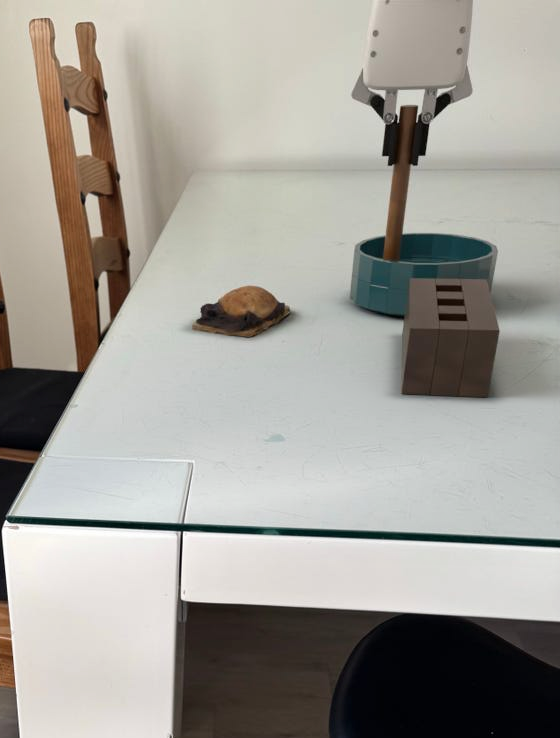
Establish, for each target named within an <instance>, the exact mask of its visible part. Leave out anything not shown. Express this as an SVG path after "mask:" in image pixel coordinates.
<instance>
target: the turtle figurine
mask: <svg viewBox="0 0 560 738" xmlns="http://www.w3.org/2000/svg"><path fill="white" fill-rule="evenodd" d="M199 309H200V312H199V313H200V314H201V315H200V317H199V318H197V319H196V321H194V322H193V323H192V324H191V325H192V326H191V328H192V329H194V330H196V331H204V332H208V333H211V334H214V333H215V334H216V333H220V334H223V335H227V336H230V335H232V336H238V337H246V338H250V337H253V336H255V335H258V334H260V333H261V332H263V330H268V328H269V327H270V326H272V325H276V324H277V323H279V322H280V321H281V320H282V319H284V318H285V317H286V316H287V315H289V314H291V307H290V306H289V305H286V303H285V302H280V301H279V300H278V299H277V298H276V297H275V295H273V294H272V292H269V291H268V290H267V289H266V288H264V287H260V286H257V285H244V286H240V287H238V288H235V289H232V290H230V291H228V292H226V293H225V294H224V295H223V296H221V297H220V298H218V299H217V302H215V303H205V304H202V306H201V307H200V308H199Z"/></svg>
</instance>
